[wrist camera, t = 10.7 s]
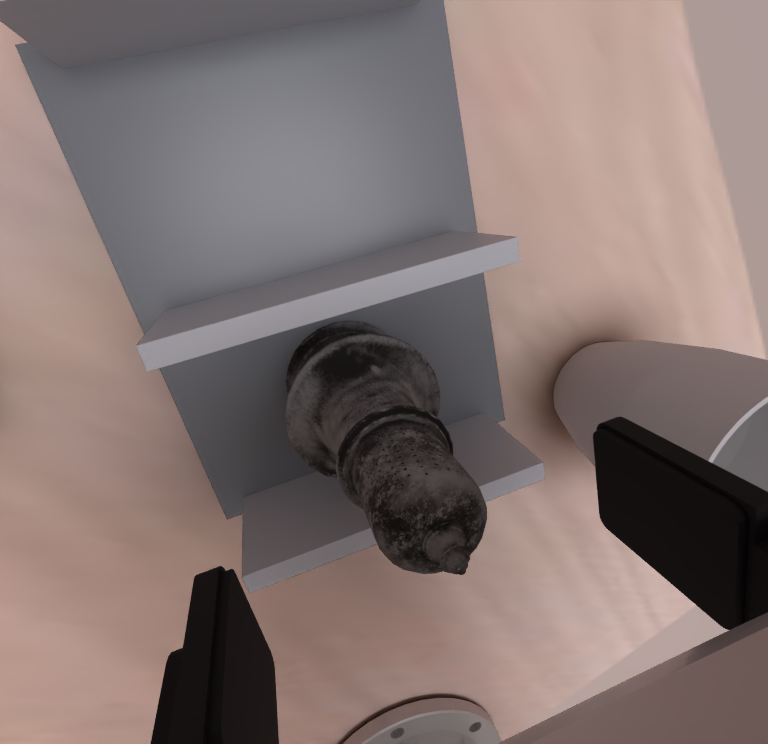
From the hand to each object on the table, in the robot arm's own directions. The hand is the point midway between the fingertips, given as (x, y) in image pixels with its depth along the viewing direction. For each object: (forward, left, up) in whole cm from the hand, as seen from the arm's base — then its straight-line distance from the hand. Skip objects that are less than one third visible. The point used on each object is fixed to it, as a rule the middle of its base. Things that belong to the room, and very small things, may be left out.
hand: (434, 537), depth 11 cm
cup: (-5, -13, -12) cm, 18 cm away
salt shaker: (0, 0, -11) cm, 11 cm away
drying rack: (+5, 0, -11) cm, 12 cm away
